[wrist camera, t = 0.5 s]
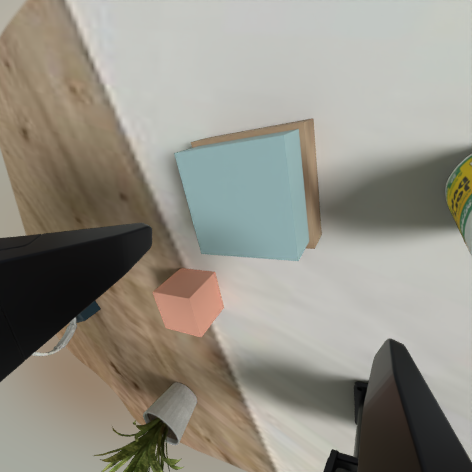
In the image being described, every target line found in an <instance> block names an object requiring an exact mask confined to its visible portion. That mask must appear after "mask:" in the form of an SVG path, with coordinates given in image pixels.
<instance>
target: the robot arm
mask: <svg viewBox="0 0 472 472" xmlns="http://www.w3.org/2000/svg"><path fill="white" fill-rule="evenodd" d="M151 246H152V228H151V227H150V226H149V225H147V224H144V223H134V224H126V225H117V226H108V227H99V228H90V229H81V230H73V231H64V232H55V233H46V234H37V235H28V236H18V237H7V238H0V382H1V381H2V380H3V379H4V378H6V377H7V376H8V375H9V374H10V373H11V372H13V371H14V370H15V369H16V368H17V367H18V366H19V365H21V364H22V363H23V362H24V361H25V360H26V359H27V358H28V357H30V356H31V355H32V354H33V353H34V352H36V351H37V350H38V349H39V348H40V347H41V346H43V345H44V344H45V343H46V342H47V341H48V340H50V339H51V338H52V337H53V336H54V335H55V334H57V333H58V332H59V331H60V330H61V329H62V328H64V327H65V326H66V325H67V324H68V323H69V322H71V321H72V320H73V319H74V318H75V317H76V316H78V315H79V314H80V313H81V312H82V311H83V310H85V309H86V308H87V307H88V306H89V305H90V304H92V303H93V302H94V301H95V300H96V299H97V298H99V297H100V296H101V295H102V294H103V293H104V292H106V291H107V290H108V289H109V288H110V287H111V286H113V285H114V284H115V283H116V282H117V281H118V280H119V279H121V278H122V277H123V276H124V275H125V274H126V273H127V272H128V271H129V270H130V269H131V268H132V267H133V266H134V265H135V264H136V263H137V262H138V261H139V260H140V259H141V258H142V256H143V255H144V254H145V253H146V252H147V251H148V250H149V249H150V248H151ZM354 399H355V423H356V425H357V429H356V438H355V448H354V457H353V456H350V455H346V454H343V453H339V452H338V451H337V450H333V449H332V450H331V453H330V456H329V458H328V460H327V463H326V466H325V469H324V472H472V462H471V460H470V458H469V457H468V455H467V453H466V451H465V450H464V448H463V446H462V444H461V443H460V441H459V439H458V437H457V436H456V434H455V432H454V430H453V429H452V427H451V425H450V424H449V422H448V420H447V418H446V417H445V415H444V413H443V411H442V410H441V408H440V406H439V404H438V403H437V401H436V399H435V397H434V396H433V394H432V392H431V390H430V389H429V387H428V385H427V383H426V382H425V380H424V378H423V377H422V375H421V373H420V371H419V370H418V368H417V366H416V364H415V363H414V361H413V359H412V357H411V356H410V354H409V352H408V350H407V349H406V347H405V346H404V345H403V344H402V343H400V342H397V341H395V340H393V339H387V340H386V341H385V343H384V344H383V345H382V347H381V348H380V350H379V351H378V352H377V354H376V355H375V357H374V360H373V364H372V369H371V374H370V378H369V383H368V384H365V383H361V382H356V383H355V385H354Z"/></svg>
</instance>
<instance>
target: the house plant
mask: <svg viewBox="0 0 472 472" xmlns="http://www.w3.org/2000/svg"><path fill="white" fill-rule="evenodd" d="M196 403H197V398H196V396H195V394H194V393H193V392H192V391H191V390H190V389H189V388H188V387H187V386H185V385H183V384H181V383H178V382H176V383H174V384H172V385H171V386H170V387H169V388H168V389H167V390H166V391H165V392H164V393H163V394H162V395H161V396H160V397H159V398H158V399H157V400H156V401H155V402H154V403H153V404H152V405H151V406H150V407H149V408H148V409H147V410H146V411H145V412H144V415H143V417H144V420H145V422H146V424H145V425H136V423H135V422H136V420H135V422H134V423H133V424H134V425H136V427H137V428H138V429H140V430H141V431H139V432H138V433H137V434H132V435H124V434H120V433H117V432H116V431H115V430H114V429H113V431H115V432H116V433H117V434H119V435H121V436H129V437H130V436H135V441H133V442H131V443H130V444H128V445H126V446H124V447H122V448H120V449H117V450H113V451H110V452H107V453H104V454H99V455H95V456H100V455H106V454H109V453H113V452H117V451H120V450H121V451H120V452H118V453H117V454H115V455H113V456H112V457H110V458H107V459H104V460H102V461H105V462H111V463H110V464H109V465H108V466H107V467H106V468H105V469H104V470H103V471H102V472H104V471H105V470H107V469H108V468H110V467H112V466H113V465H115V464H116V463H117V462H119V461H121V460H122V461H121V462H120V463H119V464H117V465H116V466H115V467H114V468H112V469H111V470H110V471H109V472H115V471H116V470H117V469H118V468H120V467H121V466H122V465H123V464H124V463H126V462H127V461H128V460H129V459H130V458H131V457H132V456H133V455H135V456H134V458H133V459H132V461H131V462H130V464H129V465H128V467H127V468H126V469H125V470H124V471H123V472H149V471H148V467H150V466H151V468H152V470H153V472H163V466H164V461H165V462H166V463H167V464H168V466H169V465H170V467H171V468H173V469H175V470H178V469H181V468H180V467H177V466H175V464H176V463H177V462H179V461H180V460H175V459H168V456H167V458H166V457H165V454H164V442H166V454H167V443H169V444H172V445H178V444H179V442H180V440H181V437H182V435H183V433H184V431H185V428H186V426H187V424H188V421H189V419H190V417H191V415H192V412H193V410H194V408H195V406H196ZM146 432H147V433H146ZM145 433H146V434H145ZM142 435H143V436H142ZM140 436H142V437H140ZM138 437H140V438H138ZM157 441H158V442H157ZM156 445H157V446H158V448H157V453H156V456H155V449H156ZM157 454H158V462H157ZM159 455H160V456H161V463H160V458H159ZM182 468H183V467H182ZM149 469H150V468H149Z"/></svg>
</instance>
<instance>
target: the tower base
mask: <svg viewBox="0 0 472 472" xmlns="http://www.w3.org/2000/svg"><path fill="white" fill-rule="evenodd" d="M295 129H299V137H300V147H301V158H302V168H303V179H304V190H305V200H306V211H307V221H308V232H309V243H308V245H307V246H306V248H310V249H315V247H316V245H317V243H318V241H319V239H320V237H321V235H322V232H321V218H320V204H319V190H318V177H317V163H316V149H315V135H314V121H313V119H307V120H302V121H297V122H291V123H286V124H280V125H275V126H269V127H264V128H259V129H253V130H248V131H242V132H237V133H231V134H226V135H221V136H215V137H210V138H206V139H202V140H198V141H194V142H191V145H192V148H194V147H197V146H202V145H208V144H214V143H220V142H225V141H231V140H237V139H243V138H249V137H255V136H260V135H266V134H272V133H278V132H284V131H289V130H295Z"/></svg>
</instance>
